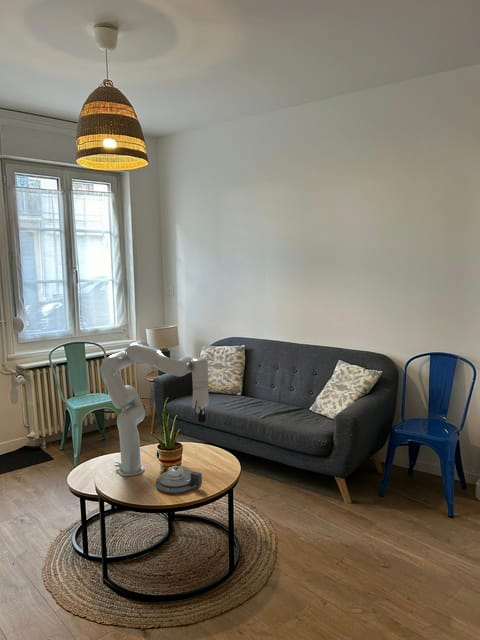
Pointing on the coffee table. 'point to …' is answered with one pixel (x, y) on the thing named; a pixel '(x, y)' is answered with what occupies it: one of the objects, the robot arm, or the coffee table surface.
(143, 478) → the coffee table surface
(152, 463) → the coffee table surface
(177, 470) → the cover
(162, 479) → the round gray housing
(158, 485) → the turntable base
